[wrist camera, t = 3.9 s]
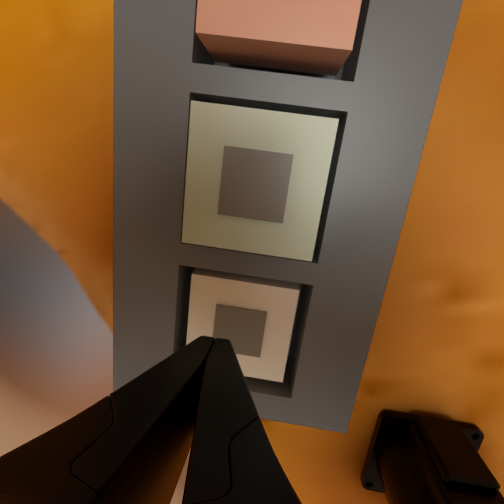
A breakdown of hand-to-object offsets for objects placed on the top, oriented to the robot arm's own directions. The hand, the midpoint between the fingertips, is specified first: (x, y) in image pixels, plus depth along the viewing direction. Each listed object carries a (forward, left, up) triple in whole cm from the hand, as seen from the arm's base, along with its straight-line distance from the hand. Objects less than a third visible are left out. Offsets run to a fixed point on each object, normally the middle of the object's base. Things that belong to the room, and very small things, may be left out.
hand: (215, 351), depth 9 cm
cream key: (-3, 0, -9) cm, 9 cm away
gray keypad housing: (+4, 0, -10) cm, 11 cm away
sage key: (+4, 0, -7) cm, 8 cm away
